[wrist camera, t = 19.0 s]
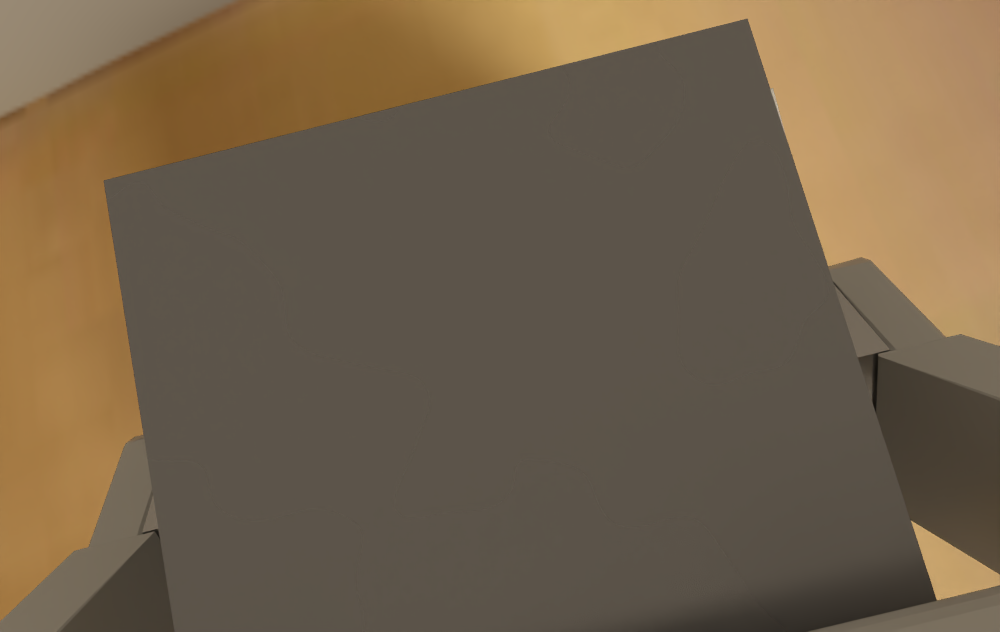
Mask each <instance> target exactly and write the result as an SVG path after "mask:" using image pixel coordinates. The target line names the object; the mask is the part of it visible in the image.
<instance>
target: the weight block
mask: <svg viewBox="0 0 1000 632" xmlns="http://www.w3.org/2000/svg"><path fill="white" fill-rule="evenodd" d="M104 186H105V192H106V198H107V205H108V211H109V217H110V224H111V230H112V237H113V243H114V249H115V256H116V262H117V268H118V275H119V281H120V288H121V294H122V300H123V307H124V313H125V319H126V326H127V332H128V338H129V345H130V351H131V358H132V364H133V370H134V377H135V383H136V389H137V396H138V402H139V409H140V415H141V421H142V428H143V434H144V440H145V447H146V453H147V460H148V466H149V472H150V479H151V485H152V491H153V498H154V504H155V510H156V517H157V523H158V530H159V536H160V542H161V549H162V555H163V561H164V568H165V574H166V581H167V587H168V593H169V600H170V606H171V612H172V619H173V625H174V631H175V632H808V631H812V630H816V629H820V628H824V627H829V626H833V625H837V624H841V623H845V622H849V621H854V620H858V619H862V618H866V617H870V616H875V615H879V614H883V613H887V612H891V611H895V610H900V609H904V608H908V607H912V606H916V605H921V604H925V603H929V602H933V601H937V600H936V597H935V594H934V591H933V587H932V584H931V581H930V578H929V575H928V572H927V569H926V566H925V563H924V560H923V557H922V554H921V551H920V547H919V544H918V541H917V538H916V535H915V532H914V529H913V526H912V523H911V520H910V517H909V514H908V511H907V508H906V504H905V501H904V498H903V495H902V492H901V489H900V486H899V483H898V480H897V477H896V474H895V471H894V468H893V465H892V461H891V458H890V455H889V452H888V449H887V446H886V443H885V440H884V437H883V434H882V431H881V428H880V425H879V422H878V418H877V415H876V412H875V409H874V406H873V403H872V400H871V397H870V394H869V391H868V388H867V385H866V382H865V379H864V375H863V372H862V369H861V366H860V363H859V360H858V357H857V354H856V351H855V348H854V345H853V342H852V339H851V335H850V332H849V329H848V326H847V323H846V320H845V317H844V314H843V311H842V308H841V305H840V302H839V299H838V296H837V292H836V289H835V286H834V283H833V280H832V277H831V274H830V271H829V268H828V265H827V262H826V259H825V256H824V253H823V249H822V246H821V243H820V240H819V237H818V234H817V231H816V228H815V225H814V222H813V219H812V216H811V213H810V210H809V206H808V203H807V200H806V197H805V194H804V191H803V188H802V185H801V182H800V179H799V176H798V173H797V170H796V166H795V163H794V160H793V157H792V154H791V151H790V148H789V145H788V142H787V139H786V136H785V133H784V130H783V127H782V123H781V120H780V117H779V114H778V111H777V108H776V105H775V102H774V99H773V96H772V93H771V90H770V87H769V84H768V80H767V77H766V74H765V71H764V68H763V65H762V62H761V59H760V56H759V53H758V50H757V47H756V44H755V41H754V37H753V34H752V31H751V28H750V25H749V22H748V19H744V20H740V21H736V22H732V23H728V24H724V25H720V26H716V27H712V28H709V29H705V30H701V31H697V32H693V33H689V34H685V35H681V36H677V37H673V38H669V39H665V40H661V41H657V42H653V43H649V44H645V45H641V46H637V47H633V48H629V49H625V50H621V51H617V52H613V53H609V54H605V55H601V56H597V57H593V58H589V59H585V60H581V61H577V62H573V63H569V64H565V65H561V66H557V67H553V68H549V69H545V70H541V71H538V72H534V73H530V74H526V75H522V76H518V77H514V78H510V79H506V80H502V81H498V82H494V83H490V84H486V85H482V86H478V87H474V88H470V89H466V90H462V91H458V92H454V93H450V94H446V95H442V96H438V97H434V98H430V99H426V100H422V101H418V102H414V103H410V104H406V105H402V106H398V107H394V108H390V109H386V110H382V111H378V112H374V113H370V114H367V115H363V116H359V117H355V118H351V119H347V120H343V121H339V122H335V123H331V124H327V125H323V126H319V127H315V128H311V129H307V130H303V131H299V132H295V133H291V134H287V135H283V136H279V137H275V138H271V139H267V140H263V141H259V142H255V143H251V144H247V145H243V146H239V147H235V148H231V149H227V150H223V151H219V152H215V153H211V154H207V155H203V156H199V157H196V158H192V159H188V160H184V161H180V162H176V163H172V164H168V165H164V166H160V167H156V168H152V169H148V170H144V171H140V172H136V173H132V174H128V175H124V176H120V177H116V178H112V179H108V180H104Z"/></svg>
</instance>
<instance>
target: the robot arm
mask: <svg viewBox="0 0 1000 632" xmlns="http://www.w3.org/2000/svg"><path fill="white" fill-rule="evenodd" d="M828 268H829V271H830V274H831V277H832V280H833V283H834V286H835V289H836V292H837V296H838V299H839V302H840V305H841V308H842V311H843V314H844V317H845V320H846V323H847V326H848V329H849V332H850V335H851V339H852V342H853V345H854V348H855V351H856V354H857V357H858V360H859V363H860V366H861V369H862V372H863V375H864V379H865V382H866V385H867V388H868V391H869V394H870V397H871V400H872V403H873V406H874V409H875V412H876V415H877V418H878V422H879V425H880V428H881V431H882V434H883V437H884V440H885V443H886V446H887V449H888V452H889V455H890V458H891V461H892V465H893V468H894V471H895V474H896V477H897V480H898V483H899V486H900V489H901V492H902V495H903V498H904V501H905V504H906V508H907V511H908V514H909V517H910V520H912V521H913V522H915V523H917V524H918V525H920V526H921V527H923V528H925V529H926V530H928V531H930V532H931V533H933V534H935V535H936V536H938V537H940V538H941V539H943V540H944V541H946V542H948V543H949V544H951V545H953V546H954V547H956V548H958V549H959V550H961V551H962V552H964V553H966V554H967V555H969V556H971V557H972V558H974V559H976V560H977V561H979V562H980V563H982V564H984V565H985V566H987V567H989V568H990V569H992V570H994V571H995V572H997V573H999V574H1000V346H997V345H994V344H991V343H987V342H984V341H981V340H978V339H974V338H971V337H968V336H965V335H962V334H959V335H955V336H951V337H947V338H946V337H945V336H944V335H943V334H942V333H941V332H940V331H939V330H938V329H937V328H936V327H935V326H934V324H933V323H932V322H931V321H930V320H929V319H928V318H927V317H926V316H925V315H924V314H923V313H922V312H921V311H920V310H919V309H918V308H917V307H916V306H915V305H914V304H913V303H912V302H911V301H910V300H909V299H908V298H907V297H906V296H905V295H904V294H903V293H902V292H901V291H900V290H899V289H898V288H897V287H896V286H895V285H894V284H893V283H892V282H891V281H890V280H889V279H888V278H887V277H886V276H885V275H884V274H883V273H882V272H881V271H880V270H879V269H878V268H877V266H876V265H875V264H874V263H873V262H872V261H871V260H868V259H865V258H862V257H861V258H857V259H853V260H850V261H846V262H843V263H839V264H836V265H832V266H828ZM0 632H175V631H174V625H173V619H172V612H171V606H170V600H169V593H168V587H167V581H166V574H165V568H164V561H163V555H162V549H161V542H160V536H159V530H158V523H157V517H156V510H155V504H154V498H153V491H152V485H151V479H150V472H149V466H148V460H147V453H146V447H145V440H144V435H141V436H136V437H134V438H132V439H131V440H130V441H128V442H127V443H126V444H125V446H124V448H123V451H122V454H121V457H120V460H119V462H118V465H117V468H116V471H115V474H114V476H113V479H112V482H111V485H110V488H109V491H108V493H107V496H106V499H105V502H104V505H103V507H102V510H101V513H100V516H99V519H98V522H97V524H96V527H95V530H94V533H93V536H92V538H91V541H90V544H89V547H88V548H84V549H80V550H76V551H74V552H73V553H72V554H71V555H70V556H68V557H67V558H66V559H65V560H64V561H63V562H62V563H61V564H60V565H59V566H58V567H57V568H56V569H55V570H54V571H53V572H52V573H51V574H50V575H49V576H48V577H46V578H45V579H44V580H43V581H42V582H41V583H40V584H39V585H38V586H37V587H36V588H35V589H34V590H33V591H32V592H31V593H30V594H29V595H28V596H27V597H26V598H24V599H23V600H22V601H21V602H20V603H19V604H18V605H17V606H16V607H15V608H14V609H13V610H12V611H11V612H10V613H9V614H8V615H7V616H6V617H5V618H4V619H2V620H1V621H0ZM808 632H1000V586H996V587H991V588H987V589H983V590H979V591H975V592H971V593H967V594H962V595H958V596H954V597H950V598H946V599H941V600H937V601H933V602H929V603H925V604H921V605H916V606H912V607H908V608H904V609H900V610H895V611H891V612H887V613H883V614H879V615H875V616H870V617H866V618H862V619H858V620H854V621H849V622H845V623H841V624H837V625H833V626H829V627H824V628H820V629H816V630H812V631H808Z"/></svg>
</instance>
